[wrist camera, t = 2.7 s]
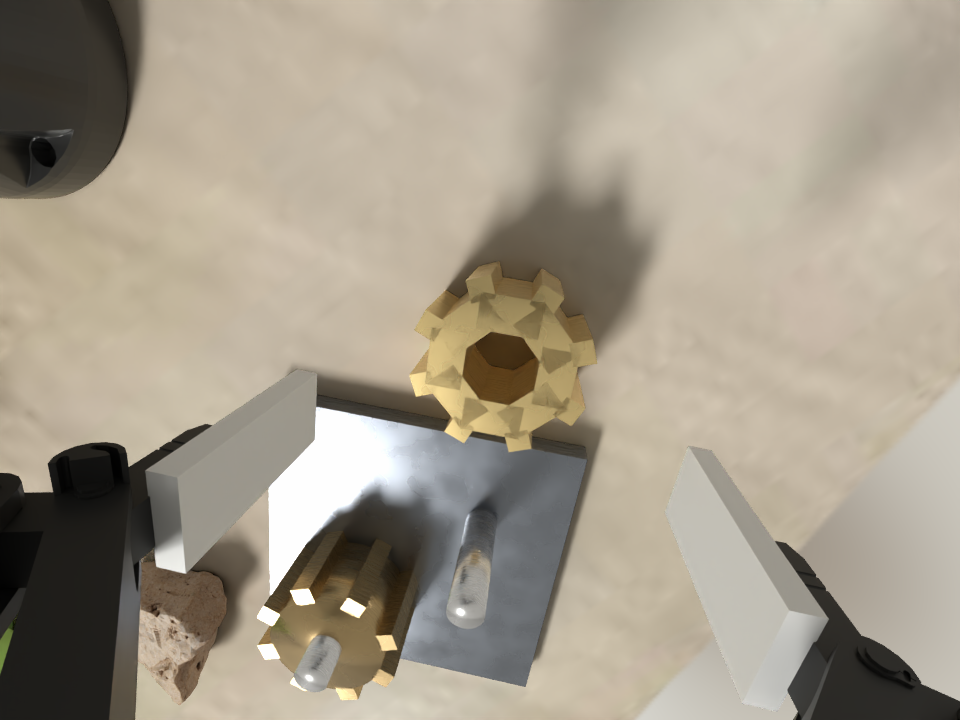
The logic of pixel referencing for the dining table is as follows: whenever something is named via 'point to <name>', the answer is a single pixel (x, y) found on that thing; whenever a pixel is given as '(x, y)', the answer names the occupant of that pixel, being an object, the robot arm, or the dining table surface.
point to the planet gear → (493, 390)
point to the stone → (178, 625)
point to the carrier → (413, 549)
